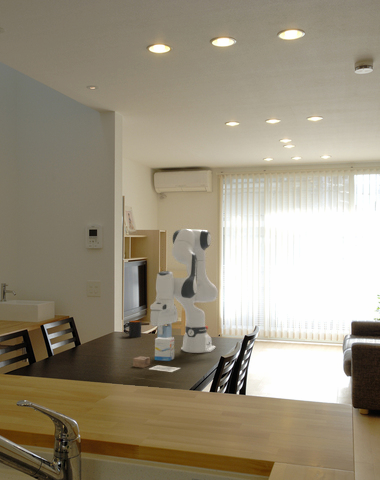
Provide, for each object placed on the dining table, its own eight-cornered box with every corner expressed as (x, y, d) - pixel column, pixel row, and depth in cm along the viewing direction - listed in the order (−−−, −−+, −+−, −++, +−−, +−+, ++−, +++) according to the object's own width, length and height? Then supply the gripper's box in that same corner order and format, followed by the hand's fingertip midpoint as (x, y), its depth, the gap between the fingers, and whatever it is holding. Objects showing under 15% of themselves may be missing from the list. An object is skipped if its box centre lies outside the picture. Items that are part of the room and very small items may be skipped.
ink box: (169, 362, 250) (169, 339, 250) (154, 361, 252) (154, 338, 253) (174, 358, 258) (174, 336, 259) (159, 357, 261) (159, 335, 261)
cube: (162, 335, 237) (162, 325, 237) (171, 336, 235) (171, 326, 235) (157, 337, 233) (157, 326, 233) (166, 338, 230) (166, 327, 230)
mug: (126, 335, 336) (126, 320, 336) (142, 335, 333) (142, 320, 333) (122, 336, 328) (122, 321, 328) (138, 337, 325) (138, 322, 325)
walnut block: (139, 364, 243) (140, 356, 243) (150, 365, 240) (150, 357, 240) (133, 366, 237) (133, 358, 238) (143, 368, 235) (143, 359, 235)
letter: (157, 365, 240) (157, 365, 240) (180, 368, 234) (180, 368, 234) (148, 369, 232) (148, 368, 232) (171, 372, 226) (171, 371, 226)
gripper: (169, 302, 245) (169, 330, 244) (148, 306, 227) (147, 335, 226) (180, 303, 242) (180, 331, 241) (159, 306, 224) (159, 336, 223)
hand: (164, 333), depth 234 cm, fingers closed on cube, 5 cm apart
